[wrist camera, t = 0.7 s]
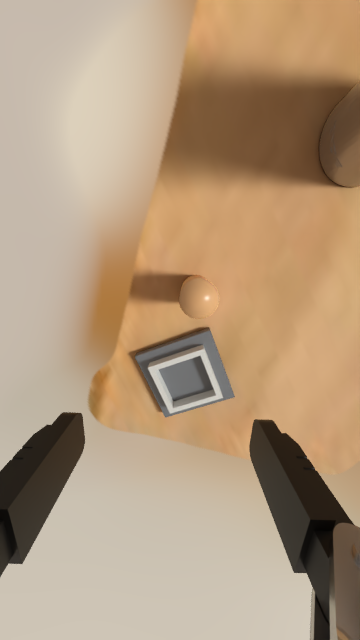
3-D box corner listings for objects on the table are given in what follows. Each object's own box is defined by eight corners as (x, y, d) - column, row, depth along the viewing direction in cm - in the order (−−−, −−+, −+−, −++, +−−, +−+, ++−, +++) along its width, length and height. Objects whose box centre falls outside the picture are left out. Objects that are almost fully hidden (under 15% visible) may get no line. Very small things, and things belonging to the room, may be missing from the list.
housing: (209, 327, 28) (211, 333, 25) (232, 392, 31) (237, 403, 28) (136, 353, 29) (132, 361, 27) (166, 412, 32) (164, 424, 30)
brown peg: (204, 270, 25) (211, 272, 18) (213, 297, 26) (224, 310, 19) (177, 281, 26) (173, 288, 18) (187, 307, 27) (187, 324, 19)
